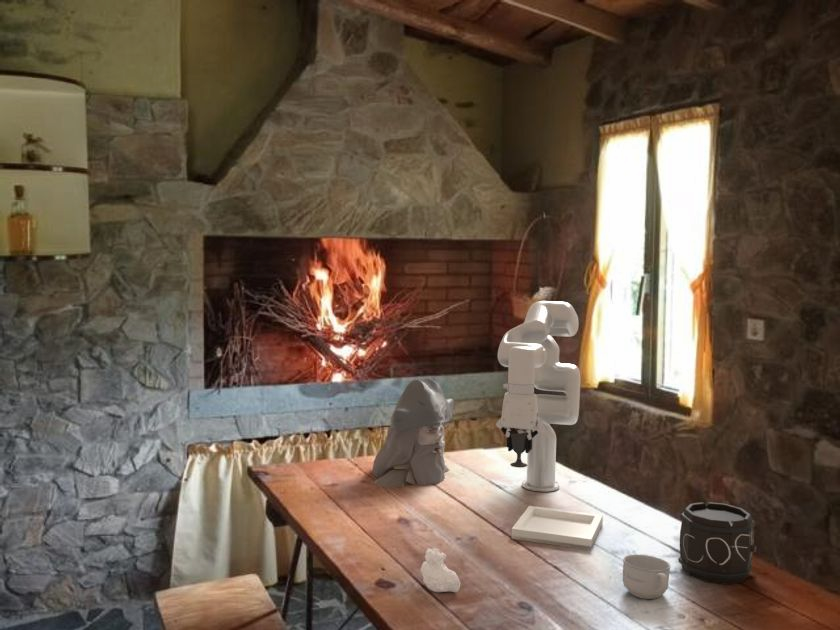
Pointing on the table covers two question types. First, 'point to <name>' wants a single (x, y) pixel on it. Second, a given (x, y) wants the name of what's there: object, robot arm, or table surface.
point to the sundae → (518, 445)
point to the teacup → (645, 575)
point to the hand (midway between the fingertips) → (519, 450)
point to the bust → (415, 438)
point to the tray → (558, 527)
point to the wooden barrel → (716, 542)
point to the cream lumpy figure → (438, 573)
